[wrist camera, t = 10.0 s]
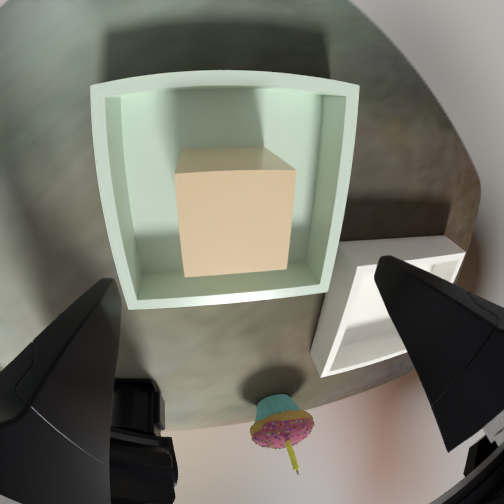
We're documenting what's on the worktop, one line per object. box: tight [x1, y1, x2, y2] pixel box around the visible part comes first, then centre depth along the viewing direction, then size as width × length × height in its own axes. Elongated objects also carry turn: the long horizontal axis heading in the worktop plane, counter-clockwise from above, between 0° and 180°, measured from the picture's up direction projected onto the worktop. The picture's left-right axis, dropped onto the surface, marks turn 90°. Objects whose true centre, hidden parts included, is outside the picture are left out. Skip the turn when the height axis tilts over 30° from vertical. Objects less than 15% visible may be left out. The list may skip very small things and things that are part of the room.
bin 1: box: [91, 70, 359, 310], centre depth 16 cm, size 14×14×4 cm
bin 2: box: [310, 235, 466, 378], centre depth 25 cm, size 14×14×4 cm
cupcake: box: [250, 394, 314, 475], centre depth 29 cm, size 9×8×12 cm
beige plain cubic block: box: [175, 147, 297, 277], centre depth 14 cm, size 5×5×6 cm
